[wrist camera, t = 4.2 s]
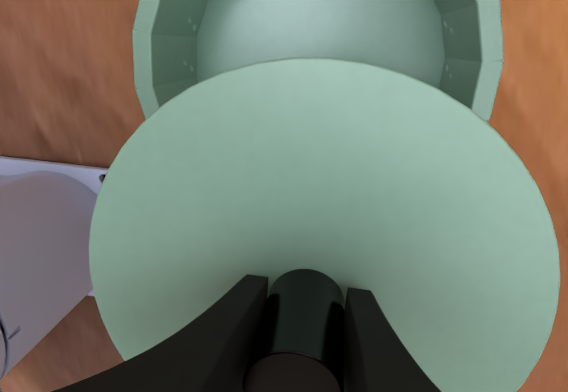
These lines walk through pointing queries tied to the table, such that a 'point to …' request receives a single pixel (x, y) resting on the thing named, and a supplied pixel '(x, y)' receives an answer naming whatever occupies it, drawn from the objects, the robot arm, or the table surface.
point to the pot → (320, 41)
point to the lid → (329, 225)
